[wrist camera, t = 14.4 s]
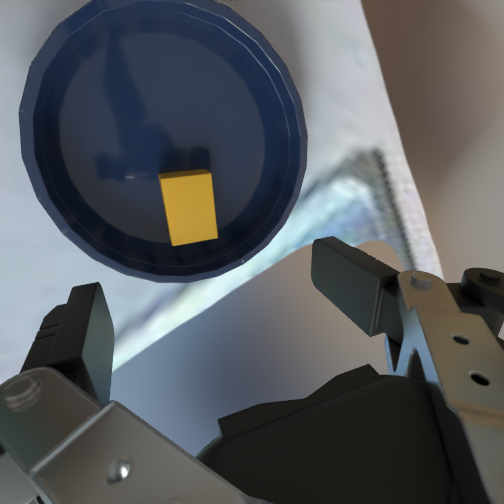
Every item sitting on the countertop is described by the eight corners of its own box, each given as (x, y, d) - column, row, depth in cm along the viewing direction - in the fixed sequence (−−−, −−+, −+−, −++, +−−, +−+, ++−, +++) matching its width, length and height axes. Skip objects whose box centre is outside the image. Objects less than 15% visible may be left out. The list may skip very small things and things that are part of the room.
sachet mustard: (157, 173, 21) (160, 178, 19) (205, 168, 22) (211, 172, 21) (169, 237, 23) (172, 246, 22) (212, 229, 24) (218, 238, 23)
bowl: (-11, 0, 15) (-49, -30, 12) (284, 17, 21) (312, -2, 17) (84, 280, 23) (77, 307, 20) (283, 241, 28) (303, 257, 25)
